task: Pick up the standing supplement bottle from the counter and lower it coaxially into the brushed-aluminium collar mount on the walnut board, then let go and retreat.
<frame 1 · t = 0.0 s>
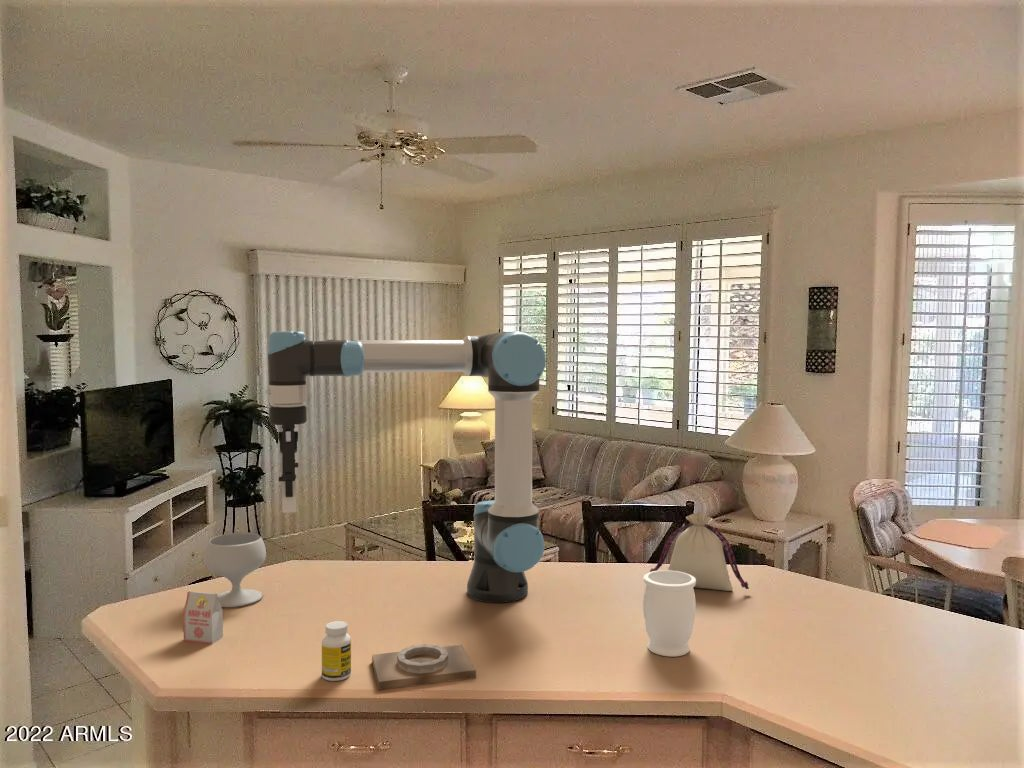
hand: (289, 505, 160), 28 cm above the counter, tool pointing down, fingers open, 13 cm apart
chalice: (236, 600, 183), on the counter
white carton: (203, 640, 159), on the counter
mount board: (422, 669, 145), on the counter
jar: (668, 650, 155), on the counter
pouch: (697, 588, 193), on the counter
supplement bottle: (336, 676, 143), on the counter
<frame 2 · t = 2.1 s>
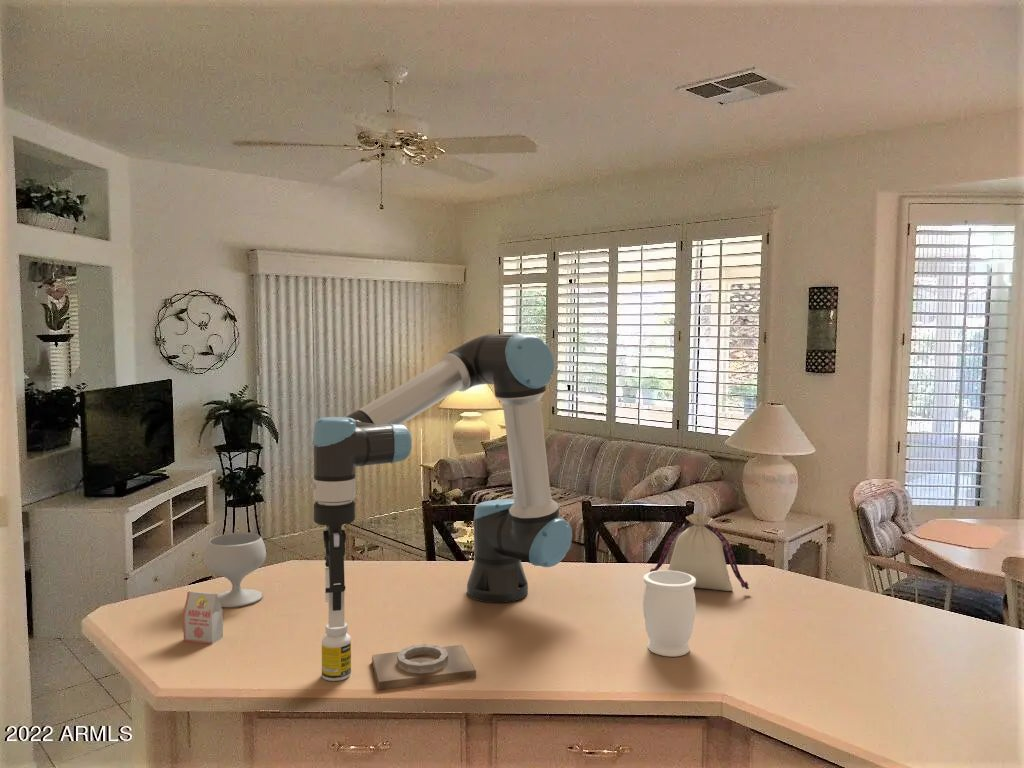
hand: (334, 613, 142), 12 cm above the counter, tool pointing down, fingers open, 13 cm apart
nothing on the counter moved.
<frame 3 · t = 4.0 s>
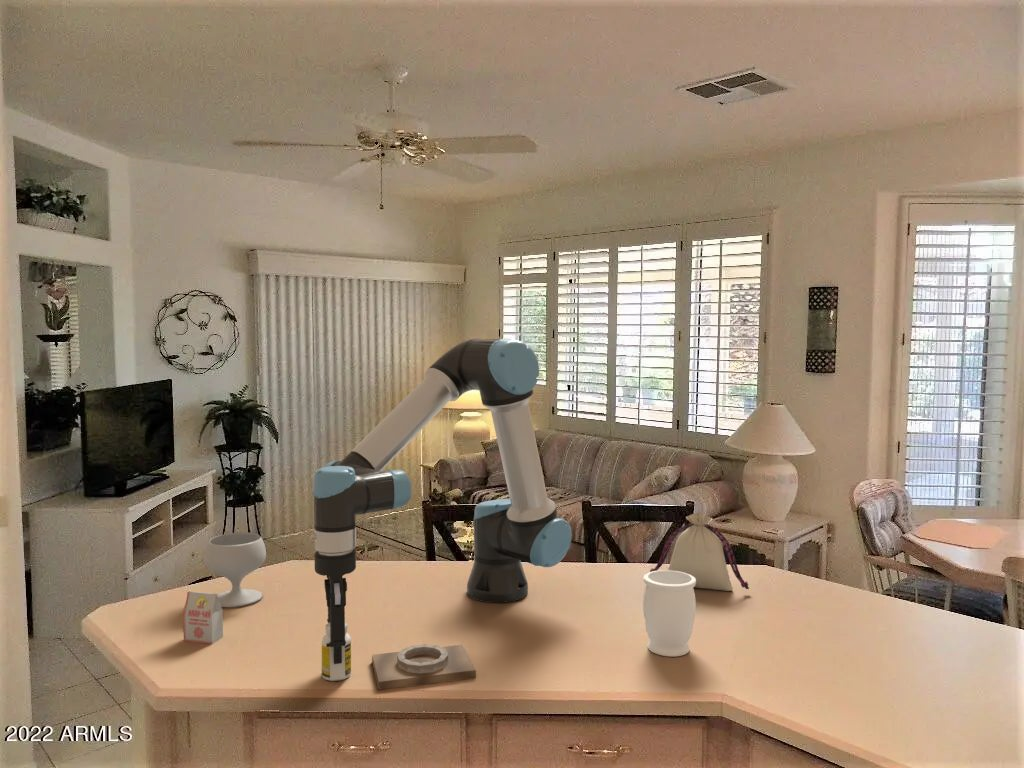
hand: (336, 671, 143), 1 cm above the counter, tool pointing down, fingers closed on supplement bottle, 5 cm apart
supplement bottle: (336, 676, 143), on the counter, touching gripper
everything else where it was.
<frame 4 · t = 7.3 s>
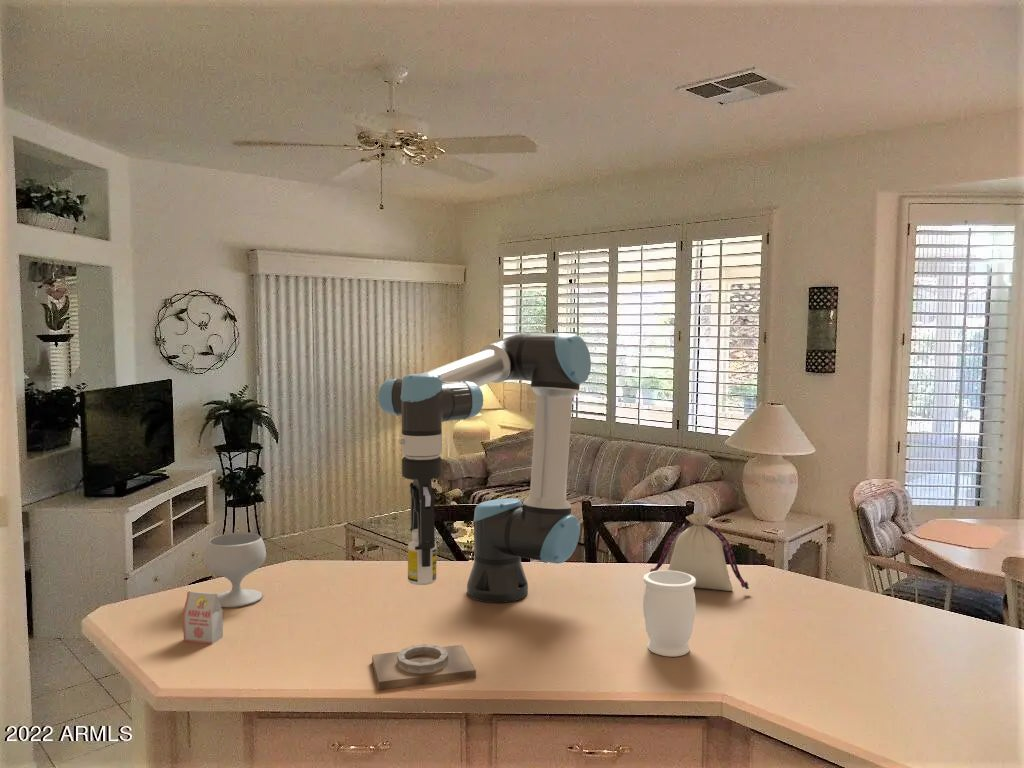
hand: (422, 577, 144), 18 cm above the counter, tool pointing down, fingers closed on supplement bottle, 5 cm apart
supplement bottle: (422, 582, 144), point 17 cm above the counter, touching gripper
everything else where it was.
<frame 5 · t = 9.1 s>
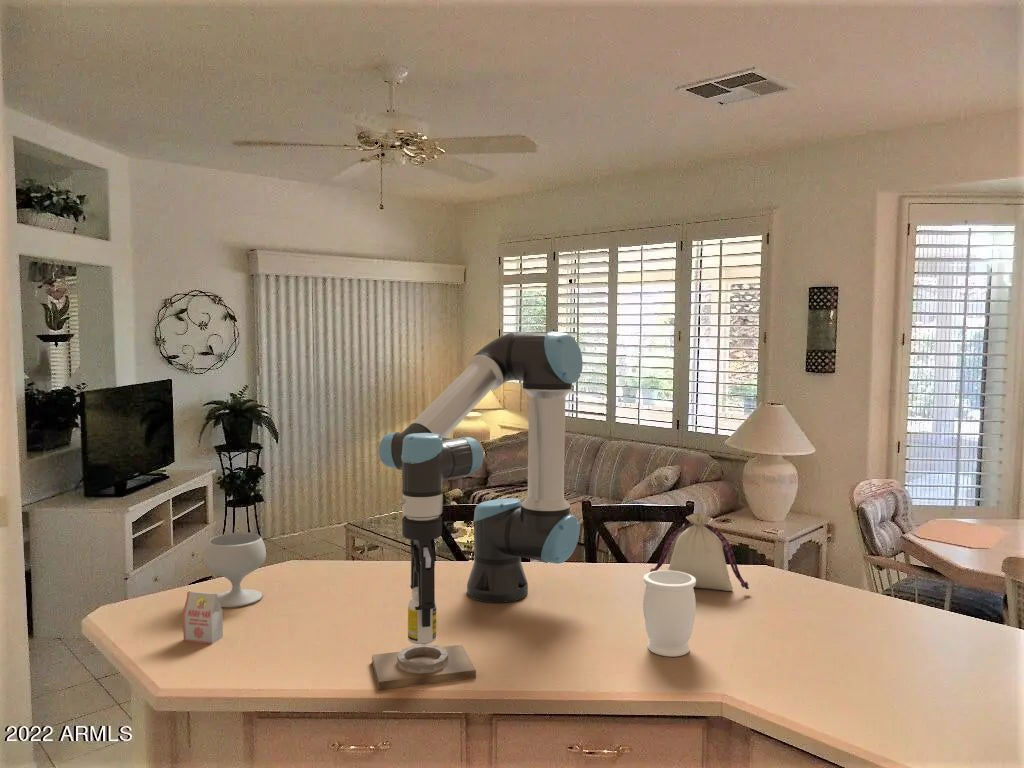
hand: (422, 635, 145), 7 cm above the counter, tool pointing down, fingers closed on supplement bottle, 5 cm apart
supplement bottle: (422, 640, 145), point 6 cm above the counter, touching gripper
everything else where it was.
when the fingers open (5 cm above the counter, at t = 10.6 s): supplement bottle drops 2 cm, resting on mount board.
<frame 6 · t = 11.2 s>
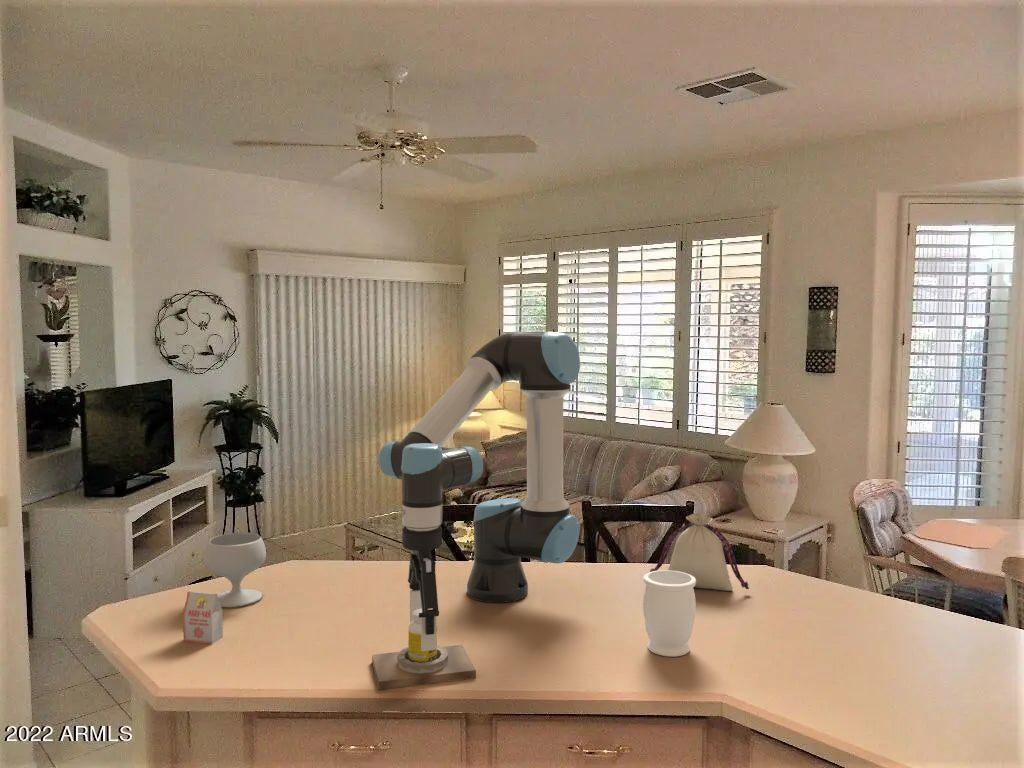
hand: (422, 635, 145), 7 cm above the counter, tool pointing down, fingers open, 13 cm apart
supplement bottle: (422, 662, 145), point 1 cm above the counter, touching mount board
everything else where it was.
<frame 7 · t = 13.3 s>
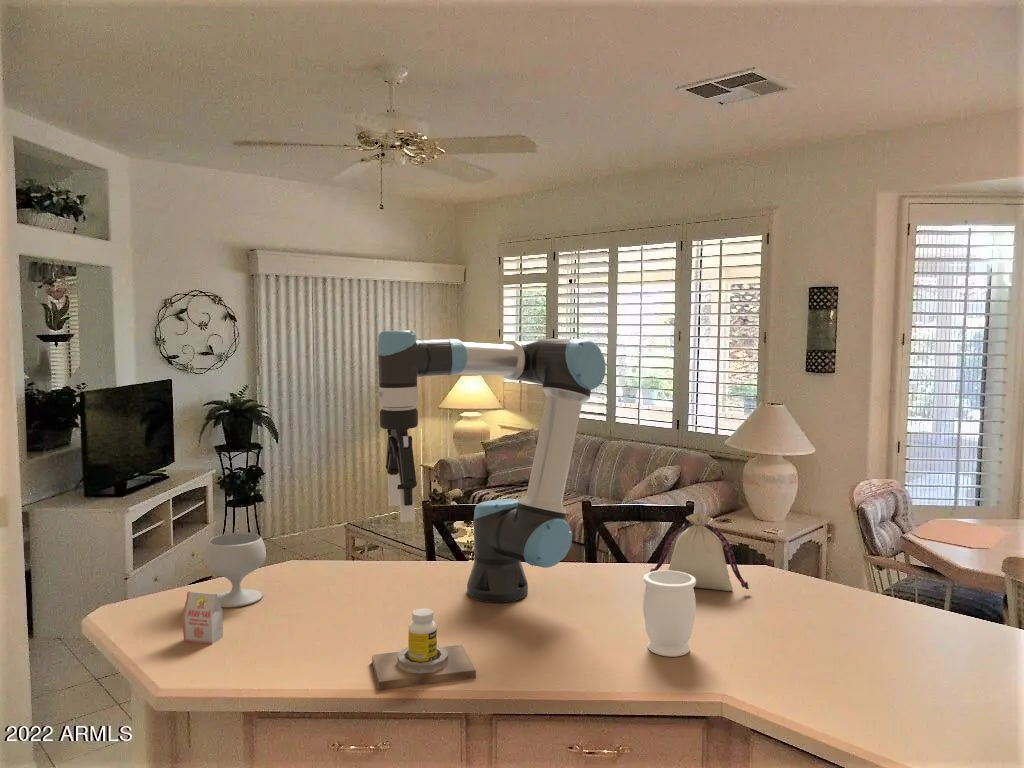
hand: (401, 513, 152), 28 cm above the counter, tool pointing down, fingers open, 13 cm apart
nothing on the counter moved.
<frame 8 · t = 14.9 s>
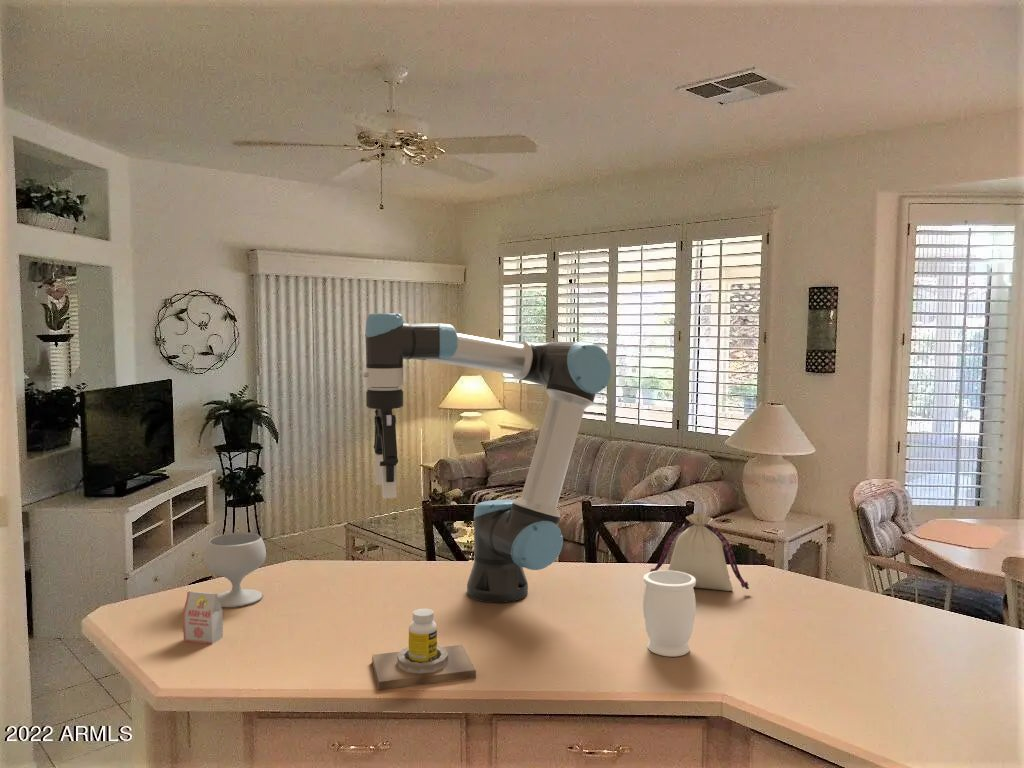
hand: (385, 491, 157), 32 cm above the counter, tool pointing down, fingers open, 13 cm apart
nothing on the counter moved.
at the end: supplement bottle 0.1 cm off-centre on the mount board, point 1.3 cm above the mount board's base; supplement bottle tilted 0°; the gripper is holding nothing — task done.
